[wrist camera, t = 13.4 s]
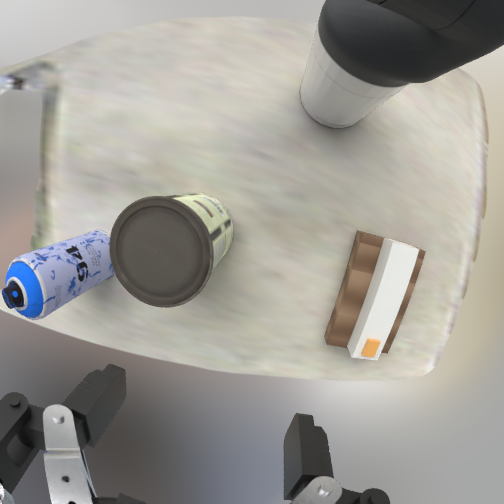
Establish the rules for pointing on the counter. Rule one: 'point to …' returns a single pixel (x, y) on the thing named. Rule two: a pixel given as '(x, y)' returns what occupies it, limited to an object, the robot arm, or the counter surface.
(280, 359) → the counter surface
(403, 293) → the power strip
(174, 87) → the counter surface
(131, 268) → the coffee can
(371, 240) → the mounting board
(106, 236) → the aerosol can
